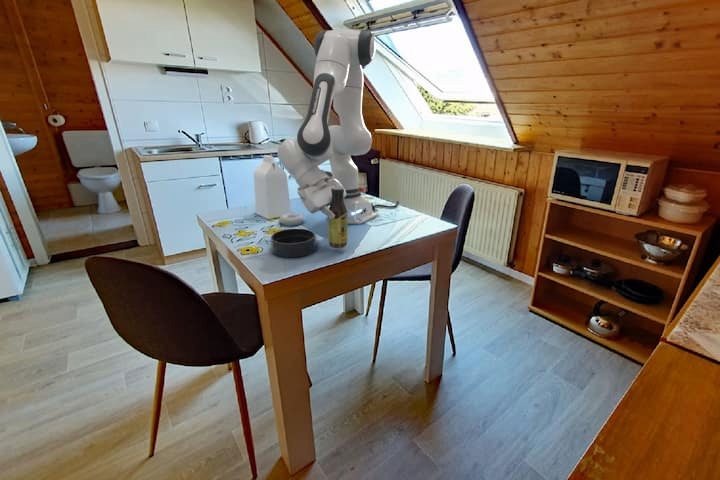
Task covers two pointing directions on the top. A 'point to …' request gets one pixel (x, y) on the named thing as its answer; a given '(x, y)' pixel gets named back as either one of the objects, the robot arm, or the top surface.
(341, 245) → the sauce bottle
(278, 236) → the pan
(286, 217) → the donut
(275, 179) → the milk
